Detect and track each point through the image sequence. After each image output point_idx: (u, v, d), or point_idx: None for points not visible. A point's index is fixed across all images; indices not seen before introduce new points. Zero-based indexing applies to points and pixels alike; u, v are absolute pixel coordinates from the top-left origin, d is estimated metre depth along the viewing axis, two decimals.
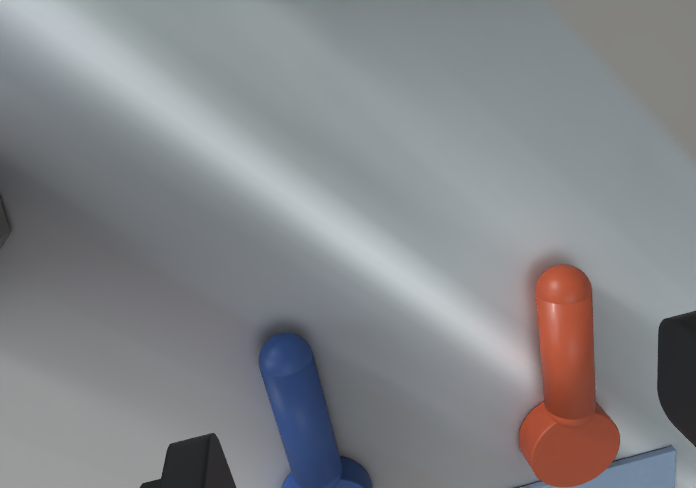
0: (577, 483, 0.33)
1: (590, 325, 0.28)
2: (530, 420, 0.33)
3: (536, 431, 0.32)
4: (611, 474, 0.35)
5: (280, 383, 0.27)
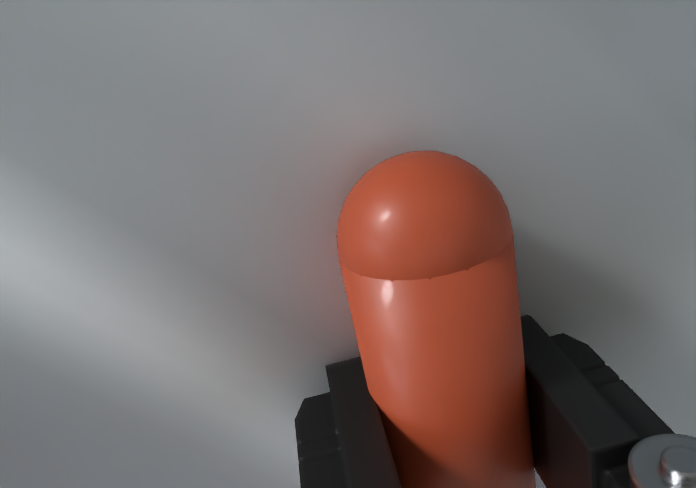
0: None
1: (508, 355, 0.08)
2: None
3: None
4: None
5: None
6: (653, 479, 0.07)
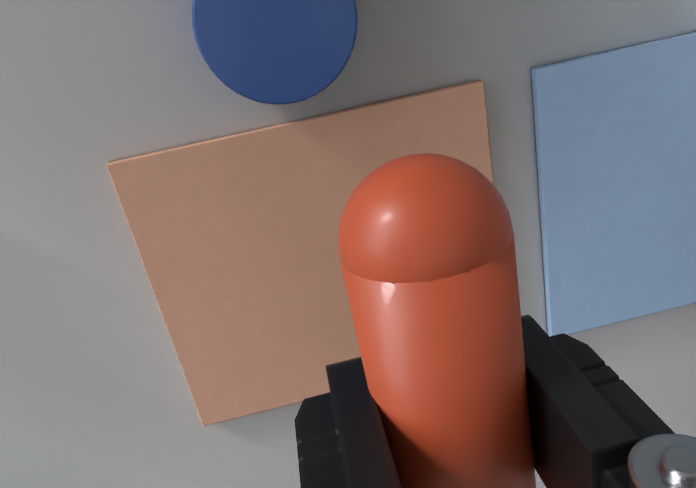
0: None
1: (509, 357, 0.08)
2: None
3: None
4: None
5: None
6: (653, 479, 0.07)
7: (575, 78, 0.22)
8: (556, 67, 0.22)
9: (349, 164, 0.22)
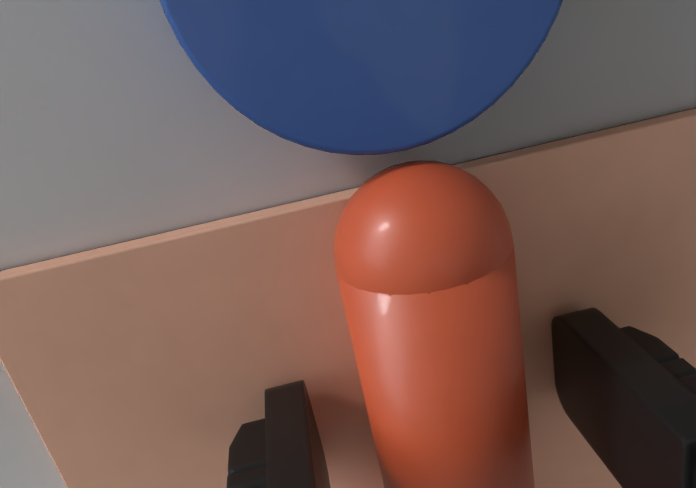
0: None
1: (509, 370, 0.08)
2: None
3: None
4: None
5: None
6: None
7: None
8: None
9: None
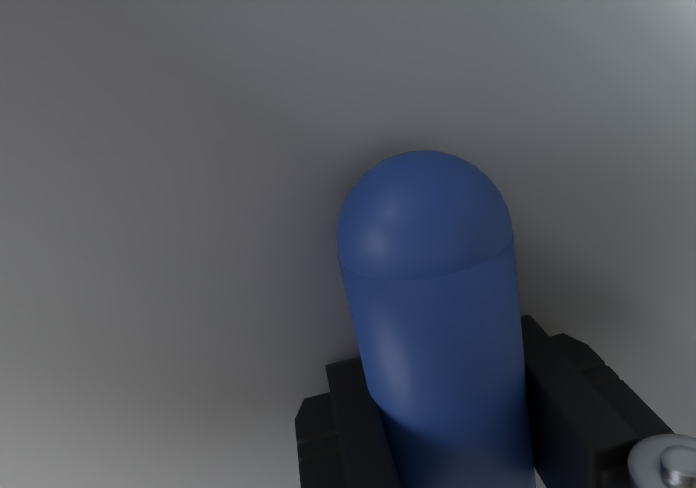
0: None
1: None
2: None
3: None
4: None
5: (420, 304, 0.08)
6: (653, 479, 0.07)
7: None
8: None
9: None
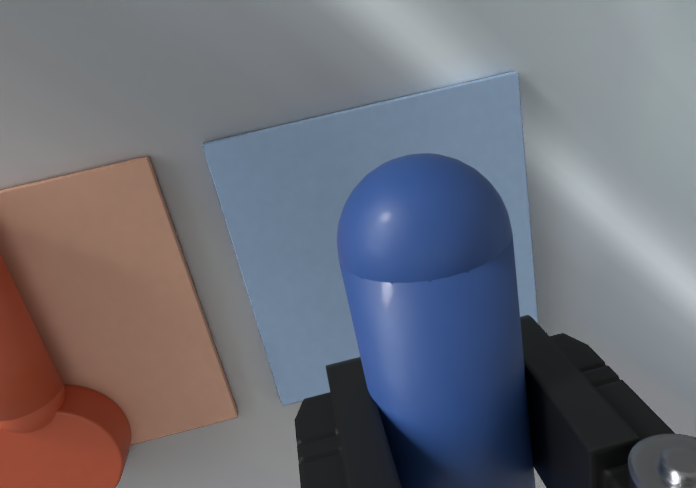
0: None
1: None
2: None
3: None
4: (412, 112, 0.22)
5: (420, 307, 0.08)
6: (653, 479, 0.07)
7: (248, 153, 0.21)
8: (224, 142, 0.21)
9: (17, 243, 0.21)
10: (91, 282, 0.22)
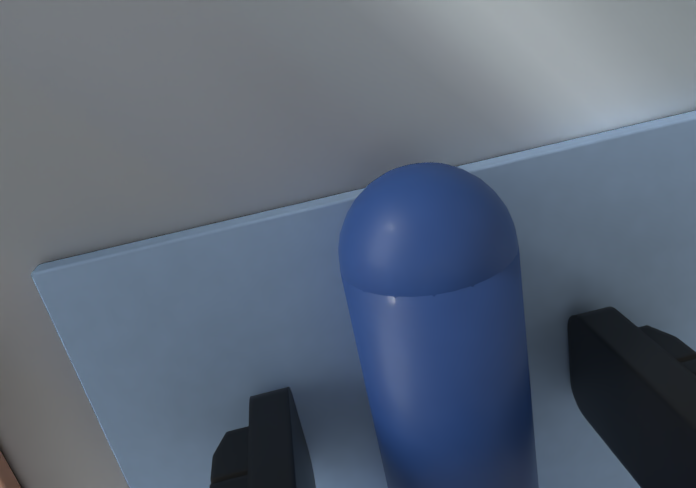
0: None
1: None
2: None
3: None
4: (507, 195, 0.10)
5: (424, 322, 0.08)
6: None
7: (140, 287, 0.09)
8: (82, 267, 0.09)
9: None
10: None
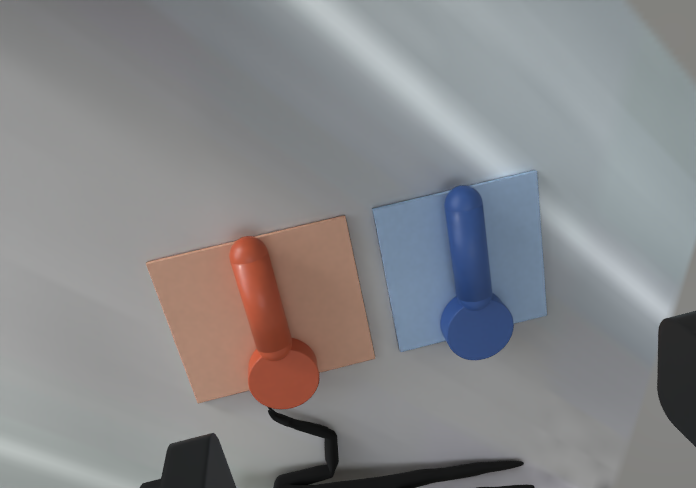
0: (291, 406, 0.43)
1: (266, 281, 0.39)
2: (252, 357, 0.43)
3: (251, 364, 0.42)
4: (481, 192, 0.41)
5: (463, 216, 0.39)
6: None
7: (396, 213, 0.41)
8: (384, 208, 0.41)
9: (275, 260, 0.41)
10: (308, 281, 0.42)
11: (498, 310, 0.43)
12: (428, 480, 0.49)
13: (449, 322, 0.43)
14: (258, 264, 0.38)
